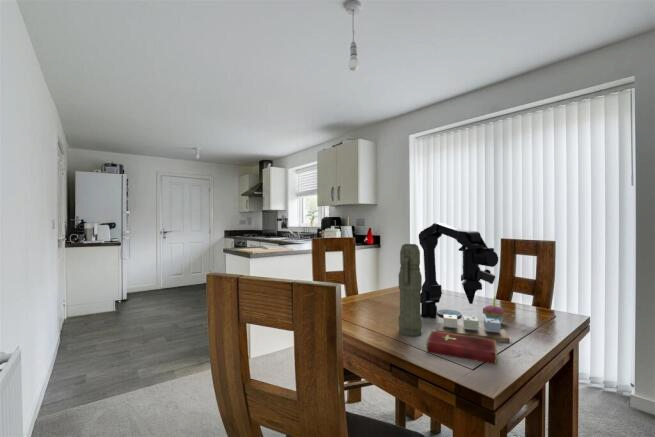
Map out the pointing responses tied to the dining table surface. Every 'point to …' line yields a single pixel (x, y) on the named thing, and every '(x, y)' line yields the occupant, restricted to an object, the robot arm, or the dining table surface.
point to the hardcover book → (462, 346)
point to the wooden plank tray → (474, 332)
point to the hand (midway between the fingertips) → (470, 303)
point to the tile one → (450, 320)
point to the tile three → (492, 324)
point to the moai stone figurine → (410, 291)
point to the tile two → (470, 322)
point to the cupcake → (493, 311)
